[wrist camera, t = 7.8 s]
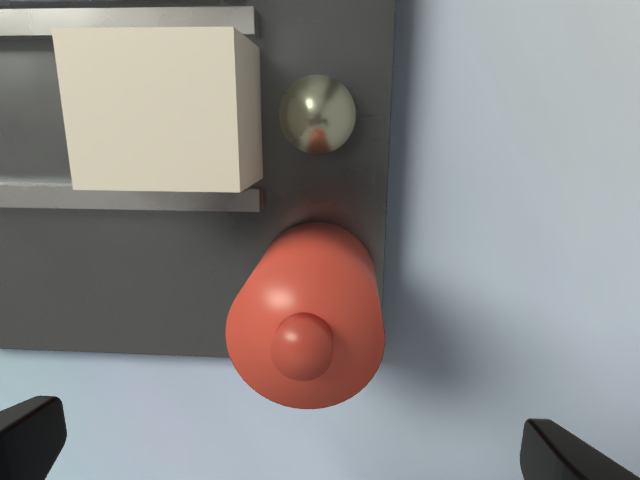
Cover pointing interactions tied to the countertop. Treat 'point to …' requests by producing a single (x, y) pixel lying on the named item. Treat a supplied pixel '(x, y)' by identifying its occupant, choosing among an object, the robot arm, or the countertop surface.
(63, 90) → the block
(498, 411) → the countertop surface
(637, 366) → the countertop surface
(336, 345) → the lockout cap
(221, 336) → the panel
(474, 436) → the countertop surface
